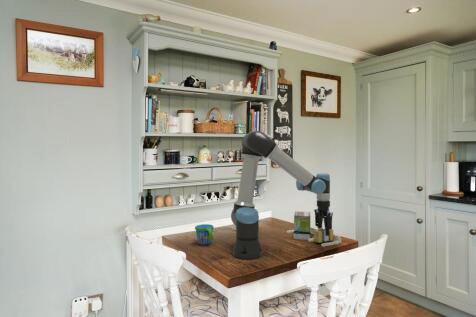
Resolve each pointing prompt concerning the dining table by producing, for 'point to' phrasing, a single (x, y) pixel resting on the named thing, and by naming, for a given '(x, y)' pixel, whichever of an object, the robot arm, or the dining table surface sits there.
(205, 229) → the snack cup
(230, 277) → the dining table surface
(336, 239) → the rack
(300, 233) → the tea box
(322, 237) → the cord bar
